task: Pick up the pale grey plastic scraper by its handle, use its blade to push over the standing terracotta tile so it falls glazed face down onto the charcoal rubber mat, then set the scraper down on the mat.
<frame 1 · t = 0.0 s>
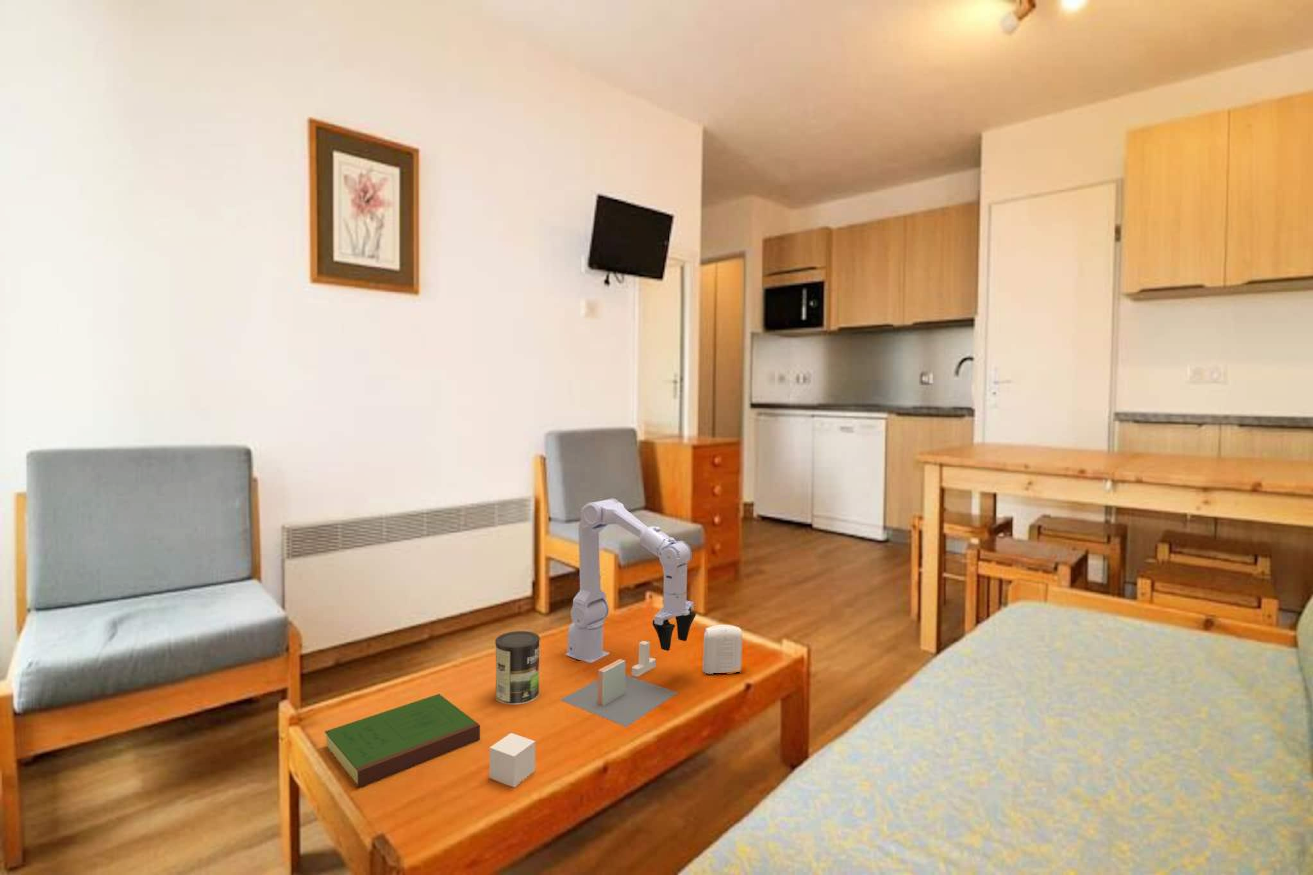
hand: (674, 644, 159), 10 cm above the table, tool pointing down, fingers open, 7 cm apart
scraper: (643, 672, 166), on the table
mat: (619, 698, 152), on the table
tile: (611, 698, 151), resting on mat
coffee can: (517, 696, 152), on the table
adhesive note: (512, 775, 121), on the table
hardcover book: (405, 745, 131), on the table
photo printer: (722, 672, 168), on the table
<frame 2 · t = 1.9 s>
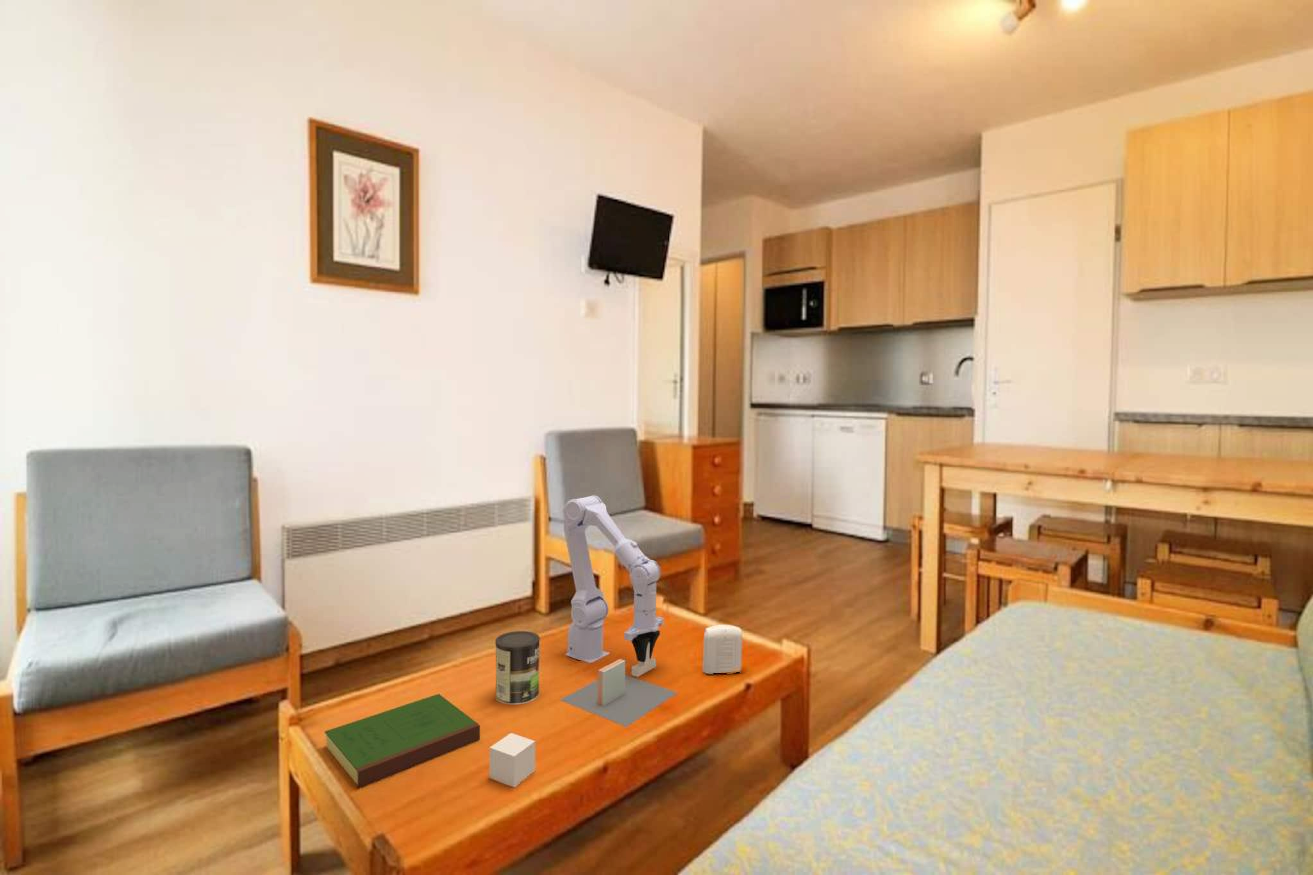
hand: (644, 659, 166), 3 cm above the table, tool pointing down, fingers closed on scraper, 2 cm apart
scraper: (643, 672, 166), on the table, touching gripper
everything else where it was.
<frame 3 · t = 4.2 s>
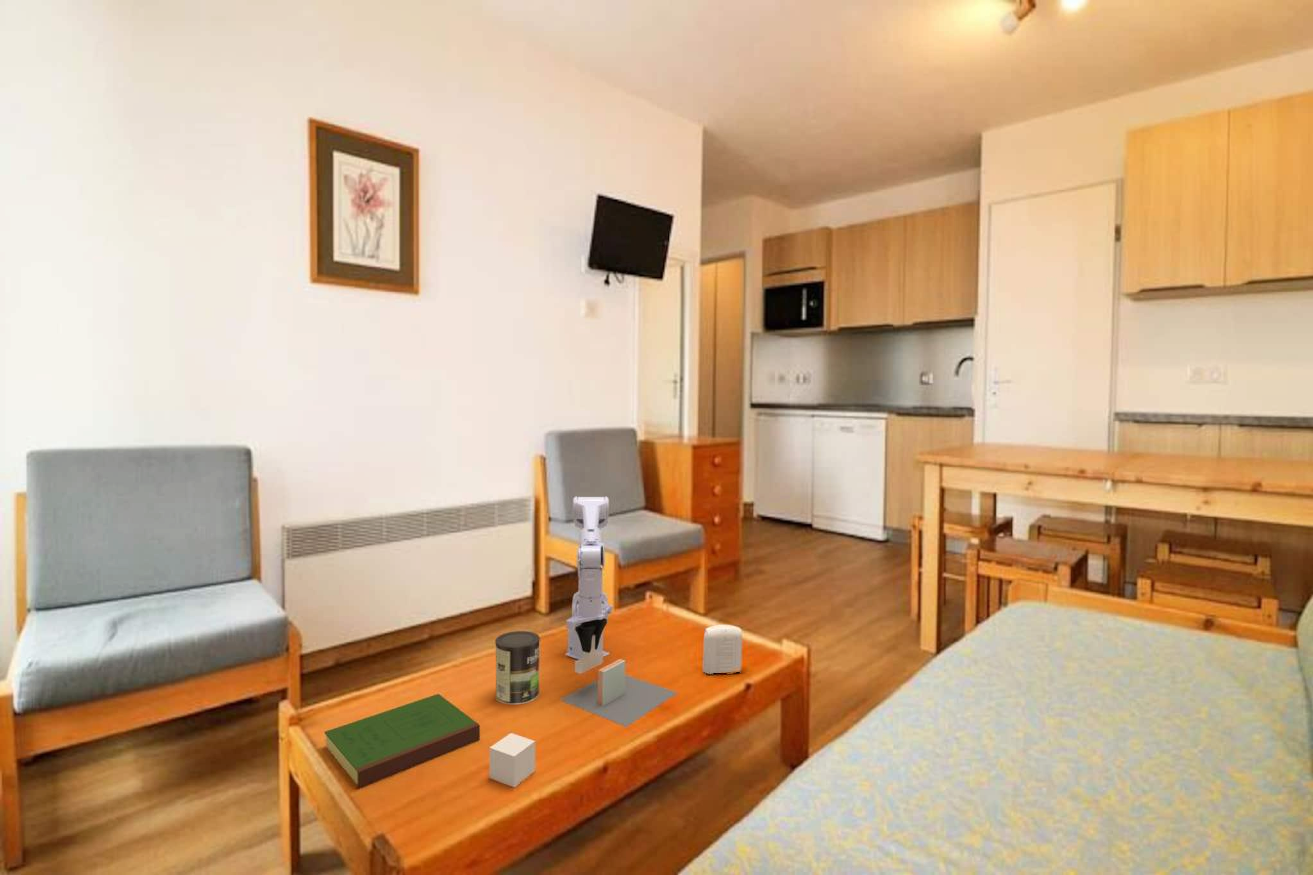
hand: (589, 649, 154), 10 cm above the table, tool pointing down, fingers closed on scraper
scraper: (589, 667, 155), point 6 cm above the table, touching gripper
everything else where it was.
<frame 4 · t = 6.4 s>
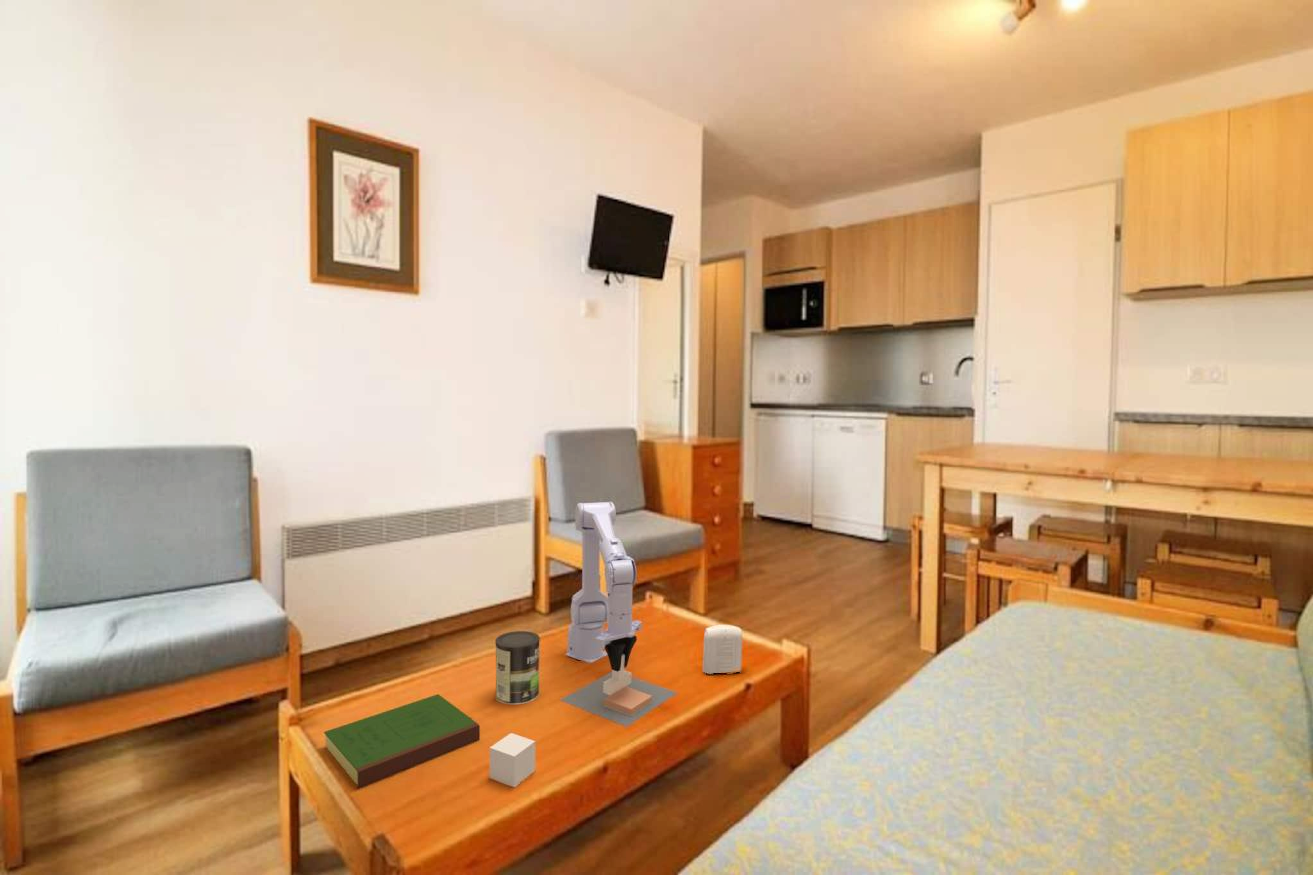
hand: (619, 668, 149), 8 cm above the table, tool pointing down, fingers closed on scraper
scraper: (617, 687, 150), point 4 cm above the table, touching gripper
tile: (614, 695, 150), point 1 cm above the table, tilted 90°, touching mat
everything else where it was.
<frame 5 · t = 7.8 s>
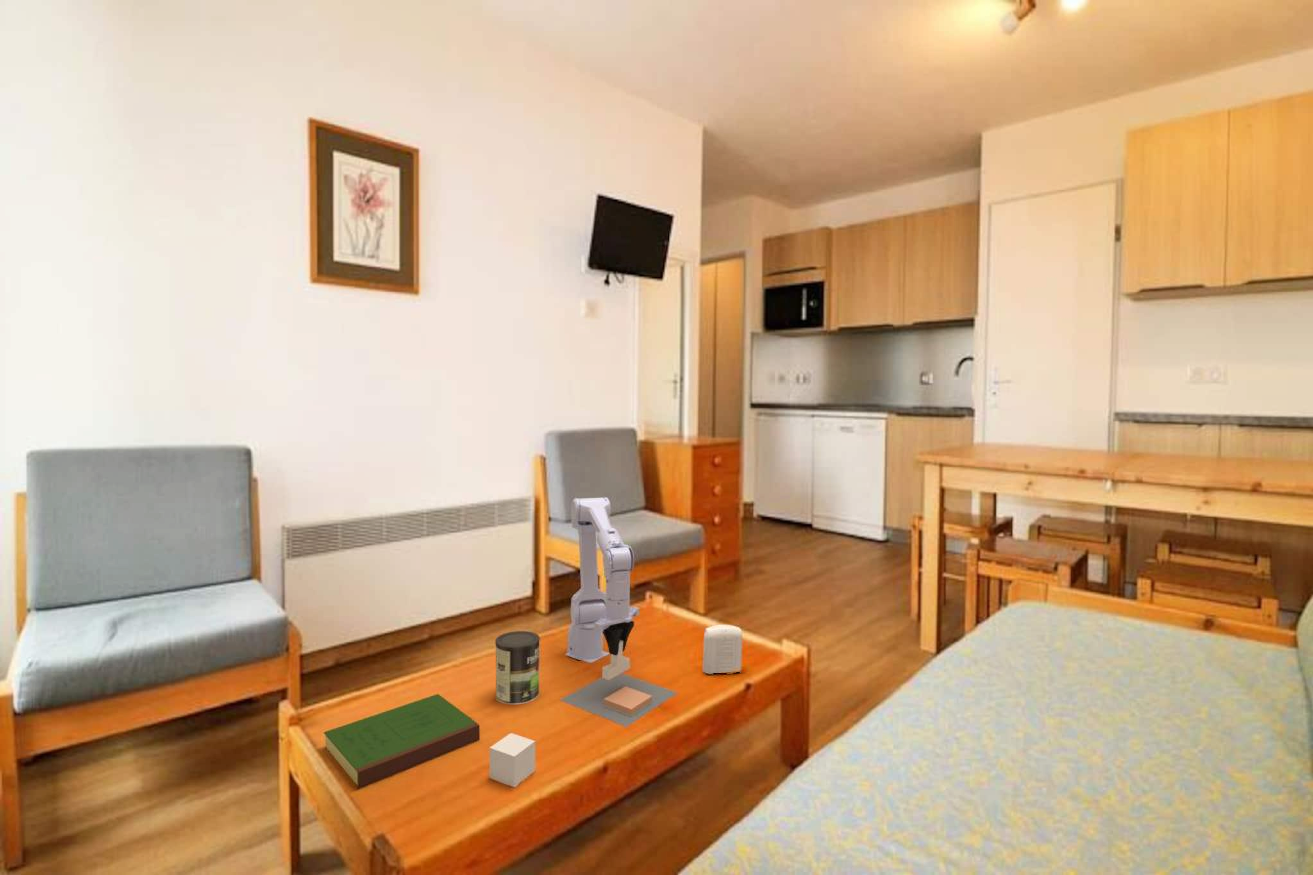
hand: (616, 652, 154), 10 cm above the table, tool pointing down, fingers closed on scraper
scraper: (616, 672, 154), point 5 cm above the table, touching gripper
everything else where it was.
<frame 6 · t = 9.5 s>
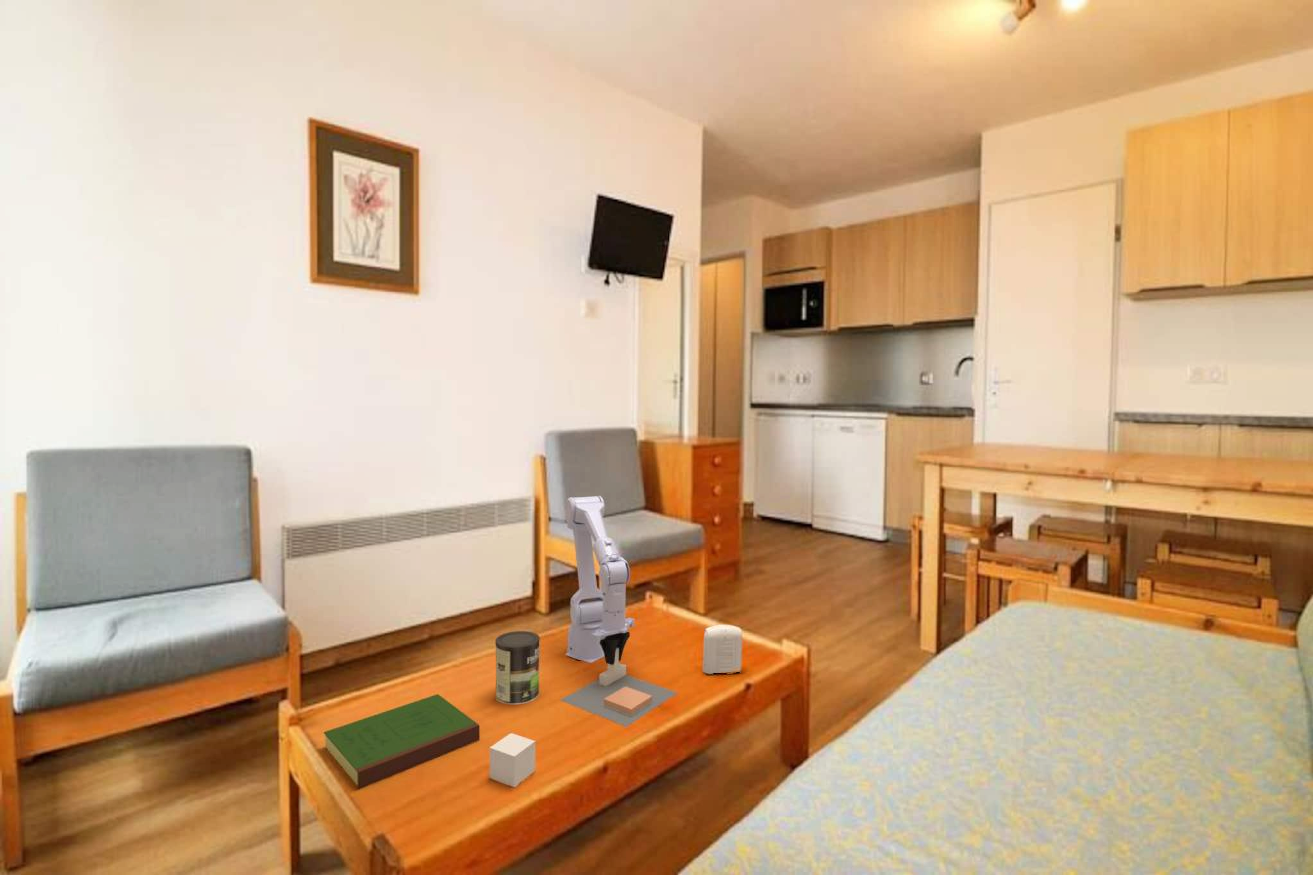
hand: (613, 661, 160), 5 cm above the table, tool pointing down, fingers closed on scraper, 2 cm apart
scraper: (612, 679, 161), resting on mat, touching gripper
everything else where it was.
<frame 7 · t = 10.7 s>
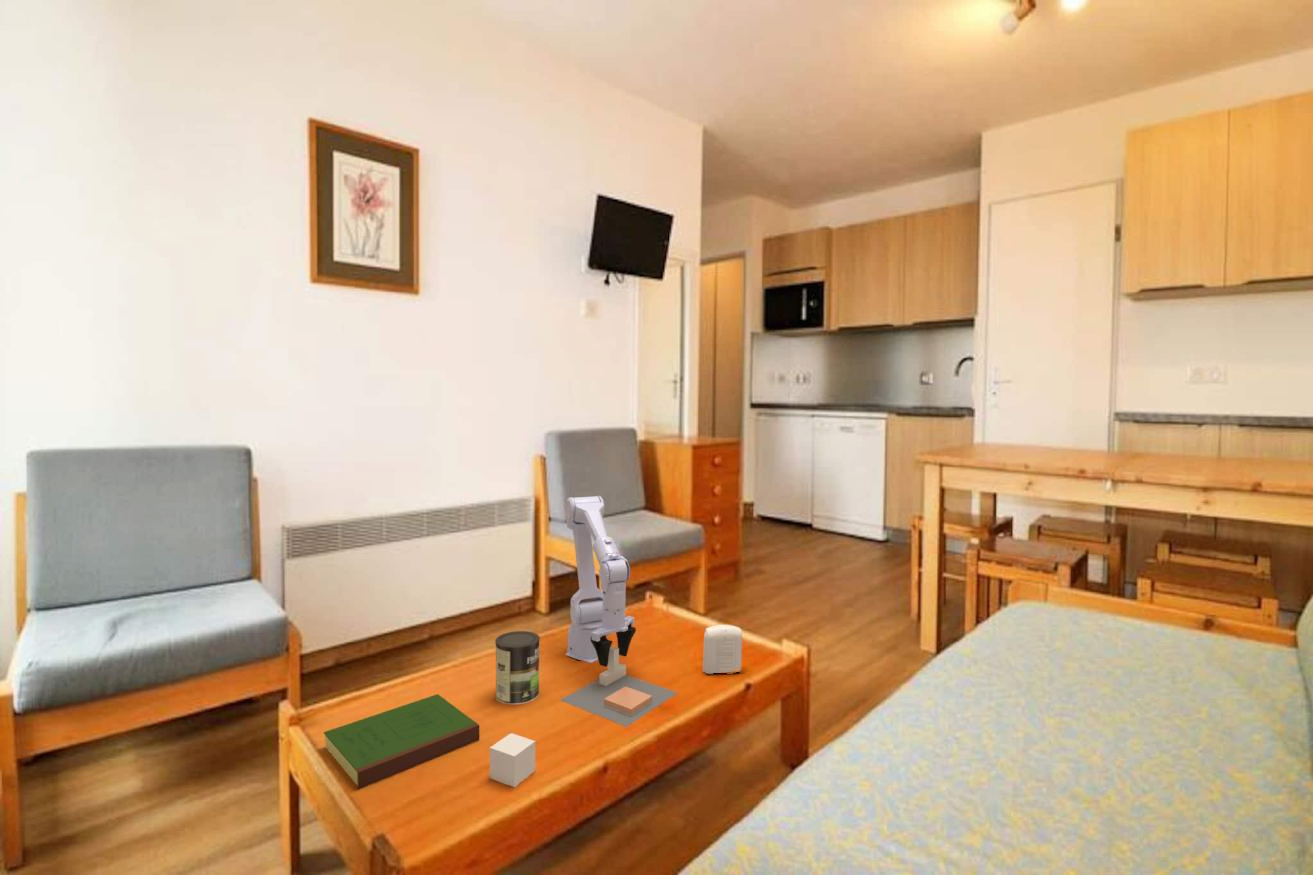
hand: (613, 660, 161), 5 cm above the table, tool pointing down, fingers open, 7 cm apart
scraper: (612, 679, 161), resting on mat
everything else where it was.
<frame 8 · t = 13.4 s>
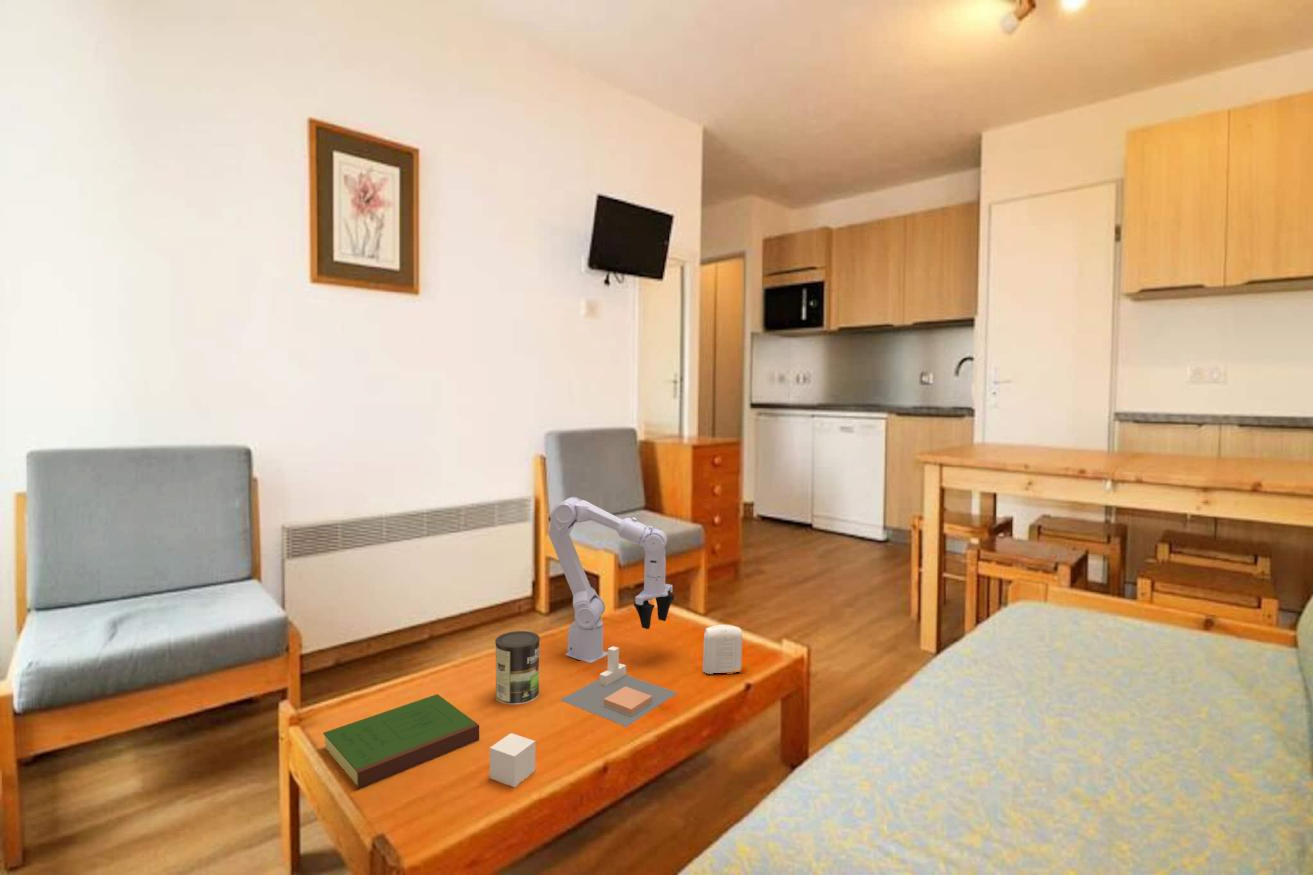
hand: (654, 623, 173), 10 cm above the table, tool pointing down, fingers open, 7 cm apart
nothing on the table moved.
at the end: tile tilted 90°; tile inside the target area (3.1 cm from its centre), point 1.5 cm above the table; scraper inside the target area (0.0 cm from its centre), point 0.5 cm above the table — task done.
